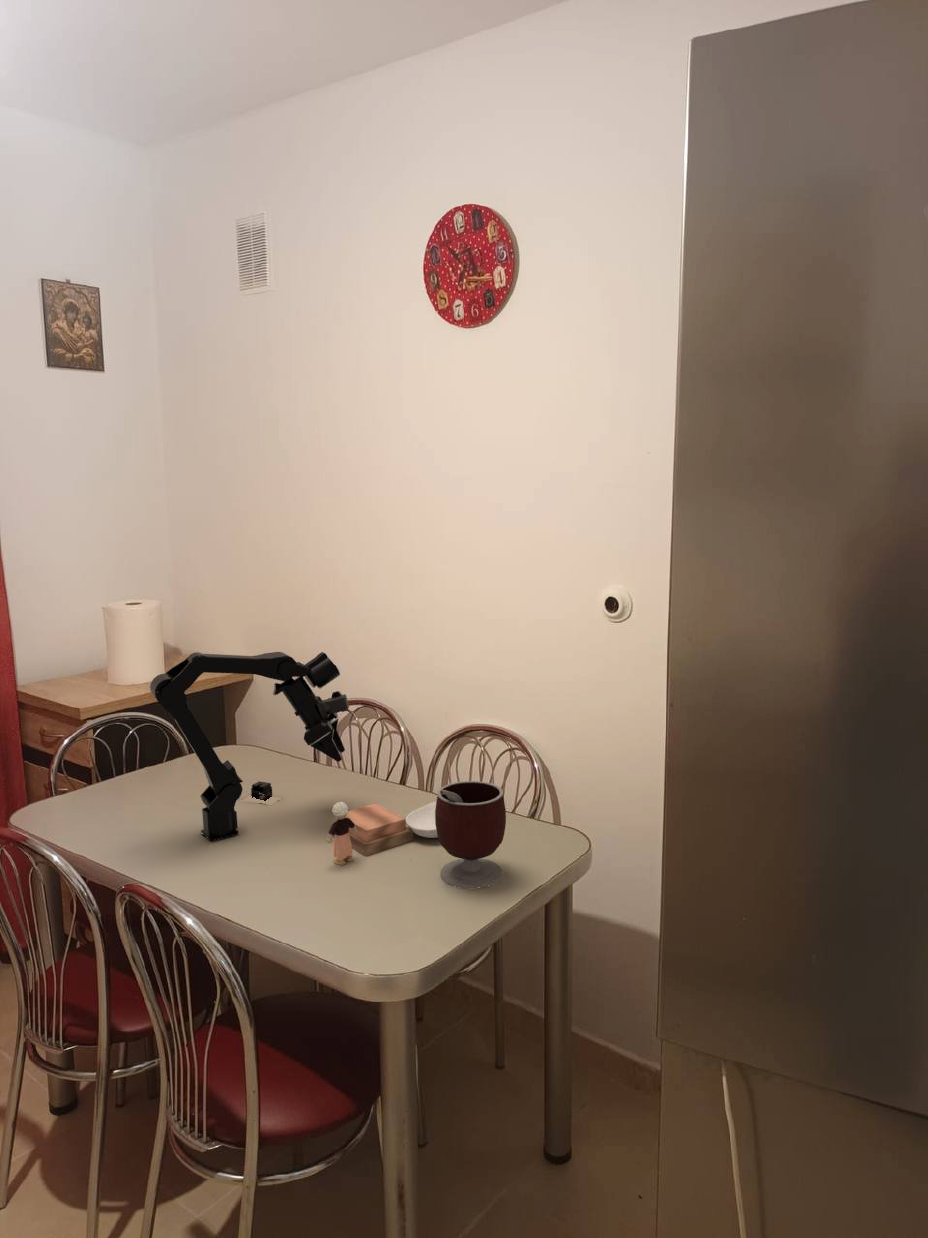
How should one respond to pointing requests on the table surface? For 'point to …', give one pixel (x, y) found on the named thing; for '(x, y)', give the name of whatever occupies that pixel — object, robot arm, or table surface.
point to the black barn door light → (261, 790)
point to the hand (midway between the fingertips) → (341, 756)
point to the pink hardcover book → (377, 829)
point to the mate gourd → (470, 831)
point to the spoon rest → (423, 821)
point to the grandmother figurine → (341, 834)
